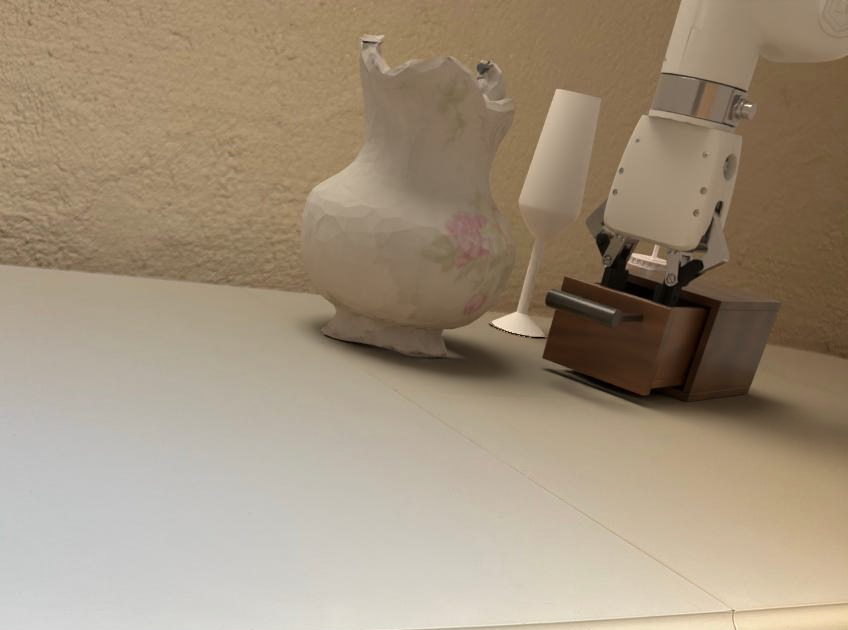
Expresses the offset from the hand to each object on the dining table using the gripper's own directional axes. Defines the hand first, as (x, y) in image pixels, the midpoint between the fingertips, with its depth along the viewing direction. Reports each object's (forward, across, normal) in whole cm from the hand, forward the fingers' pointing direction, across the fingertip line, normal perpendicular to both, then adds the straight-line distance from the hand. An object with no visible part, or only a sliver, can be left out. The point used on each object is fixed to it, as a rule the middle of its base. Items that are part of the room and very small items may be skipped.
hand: (630, 318), depth 98 cm
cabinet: (+6, 0, -12) cm, 13 cm away
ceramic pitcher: (+6, +16, +14) cm, 23 cm away
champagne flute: (+6, +18, -10) cm, 21 cm away
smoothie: (+6, +12, -24) cm, 28 cm away
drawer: (+5, 0, 0) cm, 5 cm away
